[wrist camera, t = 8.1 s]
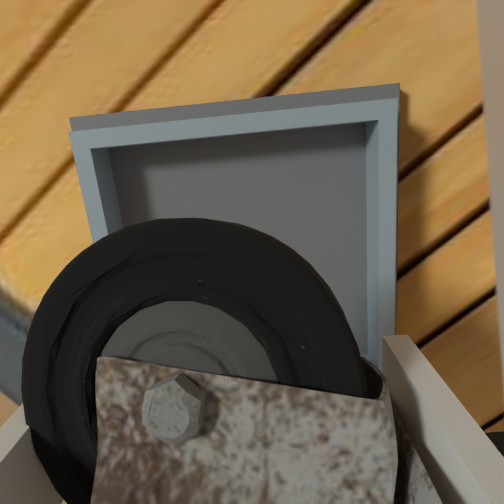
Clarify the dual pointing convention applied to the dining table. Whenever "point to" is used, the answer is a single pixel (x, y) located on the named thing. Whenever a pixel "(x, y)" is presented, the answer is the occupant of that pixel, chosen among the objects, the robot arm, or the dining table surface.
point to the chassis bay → (265, 182)
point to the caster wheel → (208, 378)
